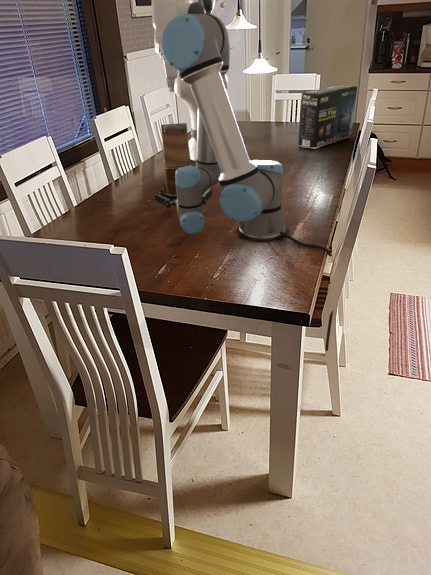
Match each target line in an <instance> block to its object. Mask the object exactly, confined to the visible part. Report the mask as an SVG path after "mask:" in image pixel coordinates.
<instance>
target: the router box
mask: <svg viewBox="0 0 431 575" xmlns="http://www.w3.org/2000/svg"><path fill="white" fill-rule="evenodd" d="M357 93H358V86H356V85H350V84H339V85H338V84H337V85H334V86H328V87H324V88H318V89H314V90H309V91H304V92H301V93H300V109H299V110H300V111H299V124H298V137H297V146H298V145H302V146H307V147H317V146H320V145H323V144H325V143H328V142H331V141H333V140H336V139H338V138H341V137H344V136H347V135H351V136H352V133H353V132H352V131H353V125H354V115H355V109H356V99H357ZM311 151H313V150H312V149H311Z"/></svg>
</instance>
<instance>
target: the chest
mask: <svg viewBox="0 0 431 575" xmlns="http://www.w3.org/2000/svg"><path fill="white" fill-rule="evenodd" d="M162 163H163V172H164V173H163V174H164V184H165V185H164V186H165V188H166V189H165V190H166V193H167V194H171V195H177V191H176V184H175V180H176V177H175V172H176V170H177V169H178V168H181V167H184V166H181V167H169V168H165V159H164V158H162Z"/></svg>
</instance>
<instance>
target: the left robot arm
mask: <svg viewBox="0 0 431 575" xmlns="http://www.w3.org/2000/svg"><path fill="white" fill-rule="evenodd" d="M215 4H216V0H151V21H152V28H153V30H154V34H153V42H154V49H155V50H154V51H155V54H158V56H159V59H161V63H162V72H163V74H164V76H165V80H166V86H167V89H168V90H169V92H170V93H174V94H175V96H177V98H178V99H180V100H182V101H183V102H184V104H185V105H186V106H187V109H188V111H189V115H190V123H191V124H190V125H191V128H190V136H191V138H190V139H188V142H189V152H190V161H195V162H196V158H197V123H198V107H197V104H196V102H195V99H194V96H193V94H192V91H191V88H190V86H189V84H187V83H185V82H183V81H182V80H181V78H180V75H179V72H178V70H177V69H176V68H174V67H173V66H171V65H170V64H169V63H168V62H167V61H166V59H165V57H164V55H163V52H162V46H161V40H162V35H163V32H164V29H165V27H166V25H167V24H168V22H169V21H170V20H172V19H173V18H175V17H177V16H181V15H184V14H204V13H208V14H212V12H213V11H214V9H215ZM224 86H225V89H226V91H228V87H229V80H228V76H227V75H226V74H225V83H224Z"/></svg>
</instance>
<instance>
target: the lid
mask: <svg viewBox="0 0 431 575" xmlns="http://www.w3.org/2000/svg"><path fill="white" fill-rule="evenodd" d="M160 132H161V140H162V150H163V159H165V168H169V167H181V166H192V160H191V159H190V152H189V134H188V125H187V122H180V123H168V124H167V123H166V124H160Z"/></svg>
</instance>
